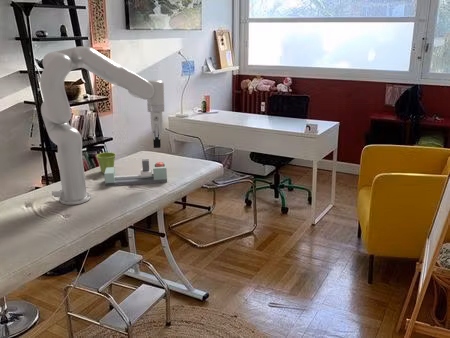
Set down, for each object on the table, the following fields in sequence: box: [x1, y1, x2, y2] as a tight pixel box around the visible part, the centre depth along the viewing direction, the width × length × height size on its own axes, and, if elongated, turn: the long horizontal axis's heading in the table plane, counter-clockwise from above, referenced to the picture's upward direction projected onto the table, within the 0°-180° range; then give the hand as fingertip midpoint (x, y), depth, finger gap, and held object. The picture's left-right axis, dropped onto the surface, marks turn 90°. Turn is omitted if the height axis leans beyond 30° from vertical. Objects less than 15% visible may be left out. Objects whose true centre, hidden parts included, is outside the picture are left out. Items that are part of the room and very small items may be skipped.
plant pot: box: [95, 152, 117, 174], centre depth 222 cm, size 9×9×9 cm
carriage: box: [140, 158, 153, 177], centre depth 208 cm, size 5×6×7 cm
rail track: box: [103, 161, 168, 187], centre depth 209 cm, size 28×9×7 cm, turn 99°
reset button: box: [155, 161, 164, 167], centre depth 209 cm, size 4×4×3 cm
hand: (157, 147), depth 206 cm, fingers closed
